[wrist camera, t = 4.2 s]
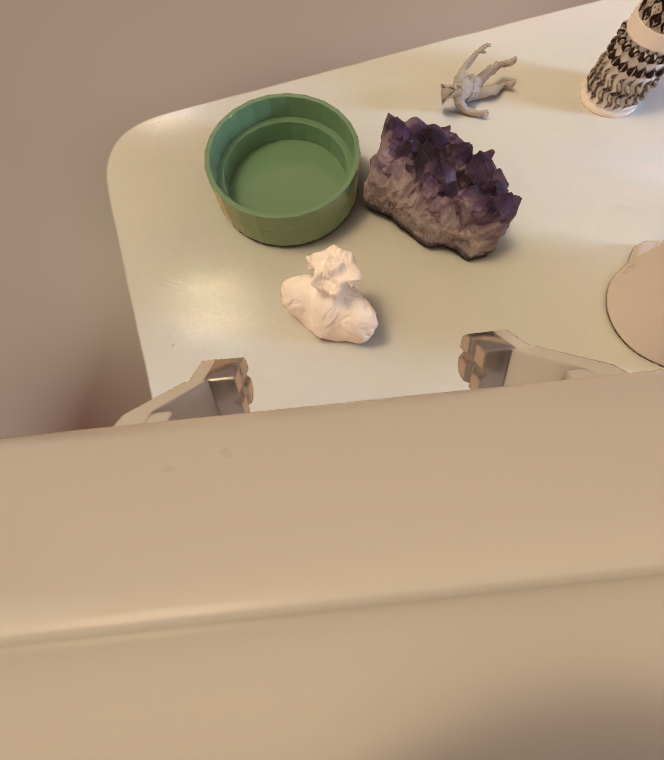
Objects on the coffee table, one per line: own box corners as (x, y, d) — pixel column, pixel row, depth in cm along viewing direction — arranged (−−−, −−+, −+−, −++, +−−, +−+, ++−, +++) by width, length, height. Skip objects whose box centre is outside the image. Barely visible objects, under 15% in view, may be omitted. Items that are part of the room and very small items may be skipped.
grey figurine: (515, 109, 47) (469, 118, 42) (484, 120, 51) (439, 130, 46) (518, 39, 43) (469, 39, 38) (485, 56, 47) (435, 59, 42)
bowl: (348, 129, 45) (350, 86, 40) (365, 240, 41) (369, 209, 36) (219, 142, 45) (204, 100, 40) (222, 255, 41) (205, 225, 35)
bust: (373, 341, 40) (409, 256, 33) (356, 372, 34) (395, 278, 27) (292, 305, 41) (308, 216, 34) (262, 329, 36) (275, 229, 28)
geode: (518, 217, 41) (570, 156, 31) (467, 284, 41) (503, 243, 31) (395, 141, 44) (408, 61, 34) (346, 203, 43) (344, 141, 33)
